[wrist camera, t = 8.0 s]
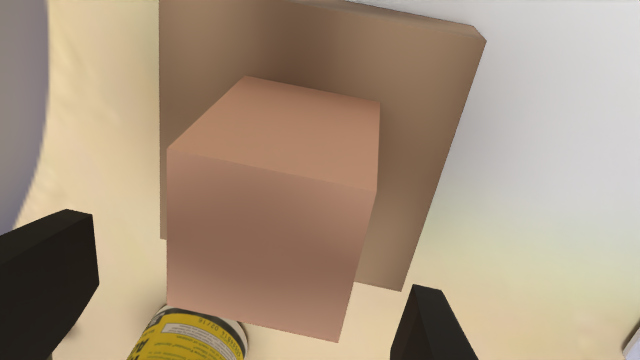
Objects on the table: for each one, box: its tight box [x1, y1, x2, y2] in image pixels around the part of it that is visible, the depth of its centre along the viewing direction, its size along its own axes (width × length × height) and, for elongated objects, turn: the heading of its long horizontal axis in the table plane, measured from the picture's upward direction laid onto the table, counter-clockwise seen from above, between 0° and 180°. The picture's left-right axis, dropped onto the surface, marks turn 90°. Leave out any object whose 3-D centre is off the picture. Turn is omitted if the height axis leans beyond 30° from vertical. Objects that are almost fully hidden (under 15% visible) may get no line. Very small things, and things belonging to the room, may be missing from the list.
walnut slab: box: [159, 0, 486, 292], centre depth 17 cm, size 10×10×3 cm
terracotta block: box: [167, 76, 380, 343], centre depth 13 cm, size 4×4×6 cm
